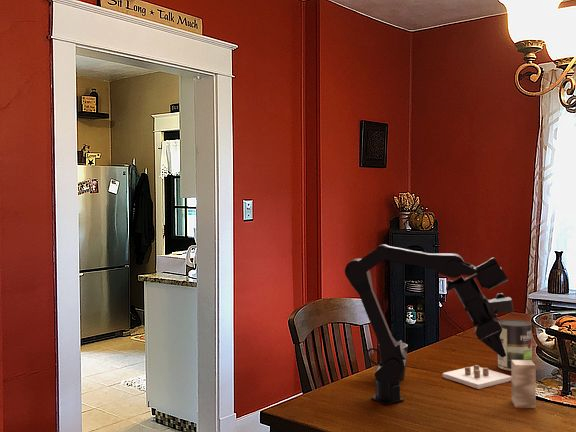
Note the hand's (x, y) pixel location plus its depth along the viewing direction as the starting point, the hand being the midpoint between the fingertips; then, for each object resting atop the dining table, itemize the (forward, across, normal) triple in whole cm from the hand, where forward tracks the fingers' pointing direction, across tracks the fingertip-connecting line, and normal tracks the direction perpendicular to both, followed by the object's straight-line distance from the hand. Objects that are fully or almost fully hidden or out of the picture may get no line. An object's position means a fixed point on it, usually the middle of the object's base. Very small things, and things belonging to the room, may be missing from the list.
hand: (502, 351), depth 163 cm
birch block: (+15, +3, +2) cm, 16 cm away
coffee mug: (-2, +21, +34) cm, 40 cm away
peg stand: (+10, +24, +12) cm, 28 cm away
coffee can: (+16, +39, +1) cm, 42 cm away
